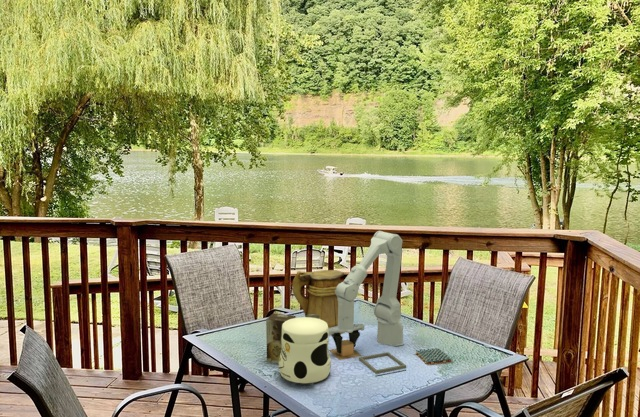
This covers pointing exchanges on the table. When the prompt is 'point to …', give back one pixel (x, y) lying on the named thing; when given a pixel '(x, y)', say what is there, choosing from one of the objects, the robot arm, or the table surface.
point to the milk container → (304, 351)
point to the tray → (384, 368)
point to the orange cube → (346, 348)
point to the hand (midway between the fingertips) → (345, 351)
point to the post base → (336, 354)
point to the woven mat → (433, 356)
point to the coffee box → (275, 336)
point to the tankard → (319, 294)
